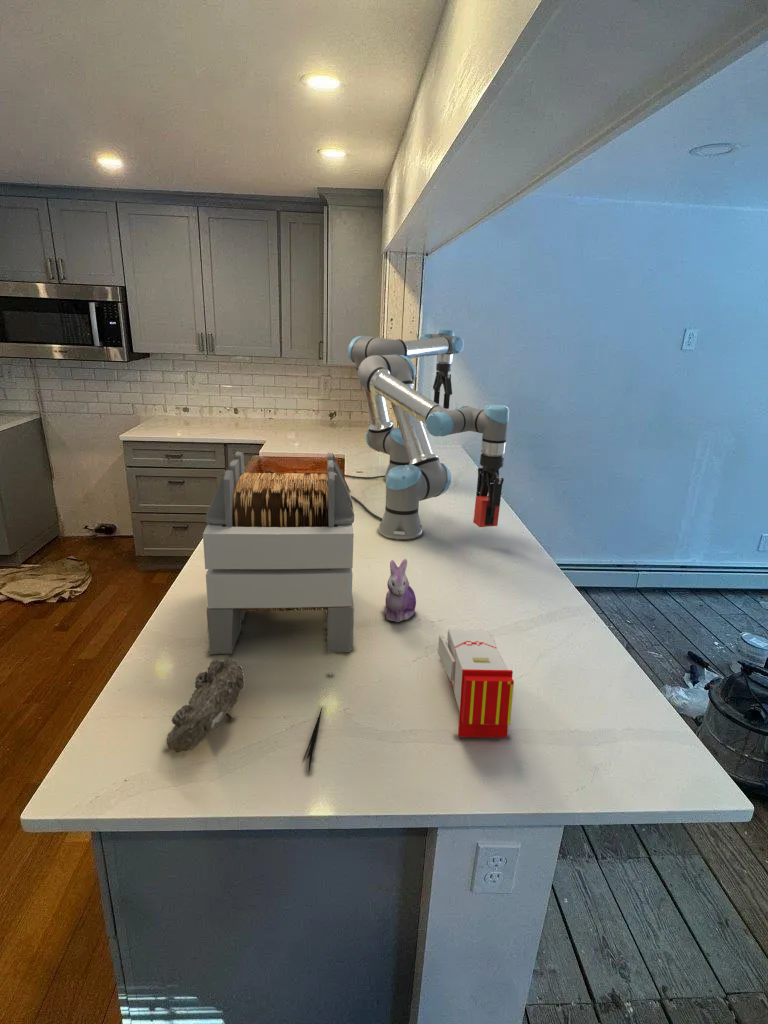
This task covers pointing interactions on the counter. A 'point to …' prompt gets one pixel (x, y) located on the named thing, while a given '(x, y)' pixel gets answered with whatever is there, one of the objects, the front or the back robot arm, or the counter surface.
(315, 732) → the feather
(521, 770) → the counter surface
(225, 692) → the fossil
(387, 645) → the counter surface
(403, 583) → the figurine
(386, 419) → the back robot arm
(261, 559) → the record crate
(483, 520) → the block
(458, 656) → the toy
